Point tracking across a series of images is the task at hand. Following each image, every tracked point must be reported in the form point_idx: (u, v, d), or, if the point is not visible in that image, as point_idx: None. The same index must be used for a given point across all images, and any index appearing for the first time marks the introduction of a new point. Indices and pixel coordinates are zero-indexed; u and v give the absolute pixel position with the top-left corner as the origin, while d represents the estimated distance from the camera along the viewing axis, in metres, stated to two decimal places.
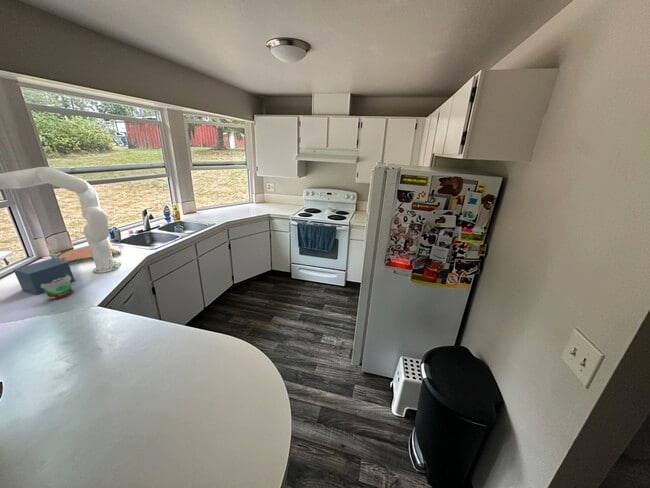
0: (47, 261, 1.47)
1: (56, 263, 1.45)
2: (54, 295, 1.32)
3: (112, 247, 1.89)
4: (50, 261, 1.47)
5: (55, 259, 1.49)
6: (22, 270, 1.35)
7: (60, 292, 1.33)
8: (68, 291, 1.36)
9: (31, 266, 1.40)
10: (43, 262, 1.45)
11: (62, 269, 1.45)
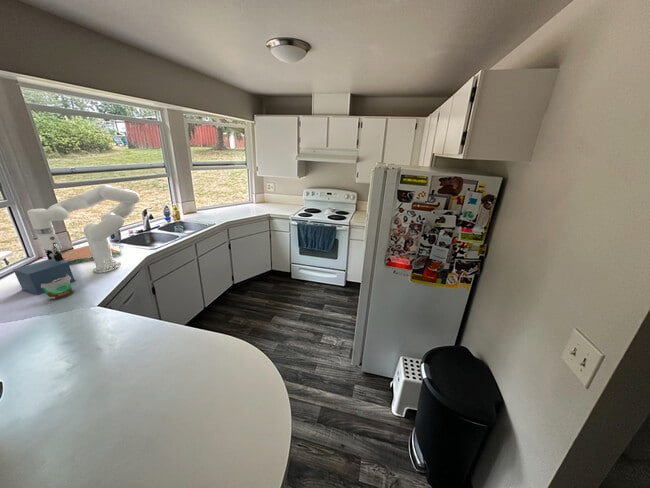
0: (47, 261, 1.47)
1: (56, 263, 1.45)
2: (54, 295, 1.32)
3: (112, 247, 1.89)
4: (50, 261, 1.47)
5: None
6: (22, 270, 1.35)
7: (60, 292, 1.33)
8: (68, 291, 1.36)
9: (31, 266, 1.40)
10: (43, 262, 1.45)
11: (62, 269, 1.45)
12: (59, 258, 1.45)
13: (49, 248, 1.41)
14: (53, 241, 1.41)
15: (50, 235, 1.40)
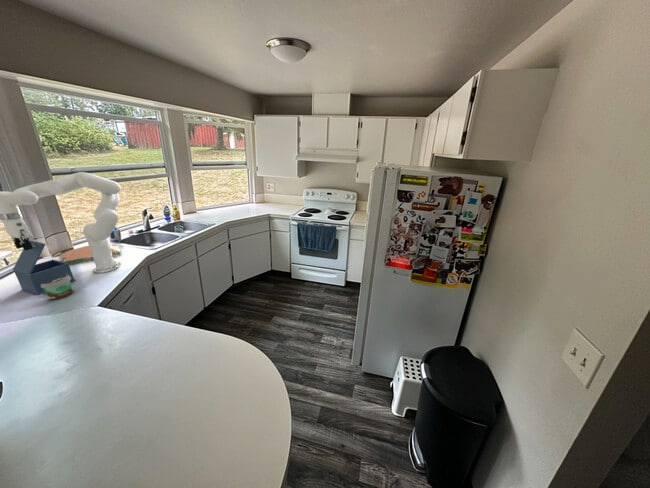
0: None
1: (36, 249, 1.36)
2: (54, 295, 1.32)
3: (112, 247, 1.89)
4: None
5: (31, 243, 1.39)
6: (19, 269, 1.34)
7: (60, 292, 1.33)
8: (68, 291, 1.36)
9: (21, 261, 1.36)
10: (25, 251, 1.38)
11: (62, 269, 1.45)
12: (28, 247, 1.32)
13: (16, 235, 1.29)
14: (20, 228, 1.28)
15: (16, 221, 1.27)
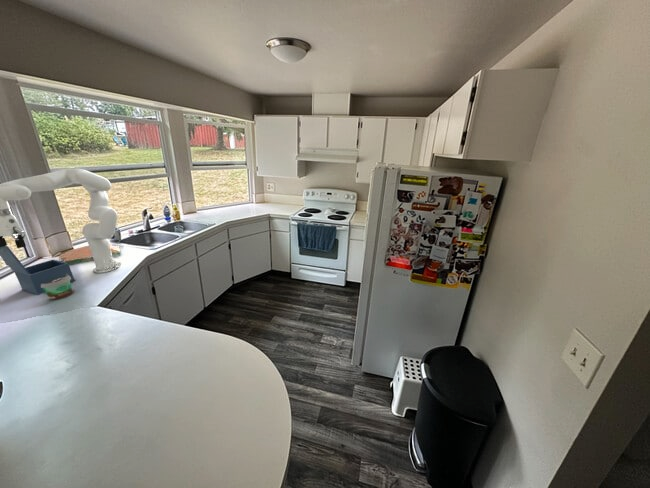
0: None
1: (6, 252, 1.26)
2: (54, 295, 1.32)
3: (112, 247, 1.89)
4: None
5: None
6: (17, 270, 1.34)
7: (60, 292, 1.33)
8: (68, 291, 1.36)
9: (9, 263, 1.32)
10: (1, 254, 1.29)
11: (62, 269, 1.45)
12: (22, 244, 1.22)
13: (7, 233, 1.19)
14: (13, 225, 1.19)
15: (9, 217, 1.18)
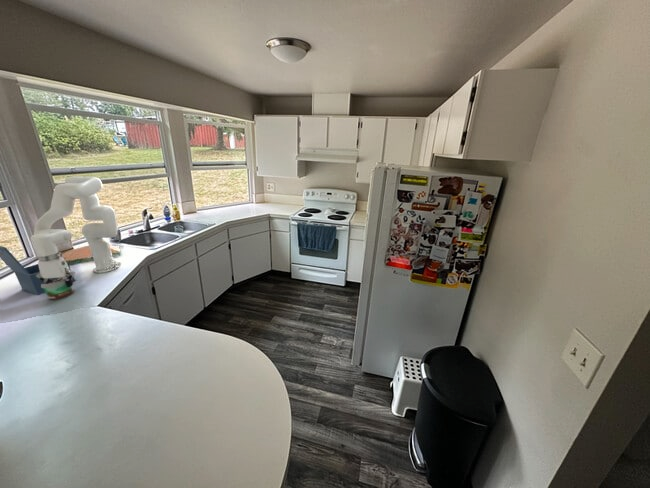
0: None
1: (4, 253, 1.26)
2: (54, 295, 1.32)
3: (112, 247, 1.89)
4: None
5: None
6: (17, 270, 1.34)
7: (60, 292, 1.33)
8: (68, 291, 1.36)
9: (8, 263, 1.32)
10: None
11: None
12: (71, 283, 1.35)
13: (60, 275, 1.30)
14: (64, 266, 1.31)
15: (61, 260, 1.30)
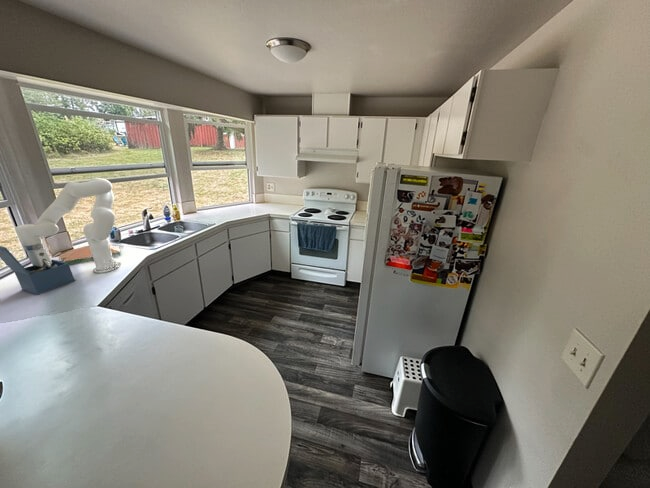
0: None
1: (4, 253, 1.26)
2: None
3: (112, 247, 1.89)
4: None
5: None
6: (17, 270, 1.34)
7: None
8: None
9: (8, 263, 1.32)
10: None
11: (62, 269, 1.45)
12: None
13: (38, 264, 1.38)
14: (43, 257, 1.38)
15: (39, 251, 1.37)
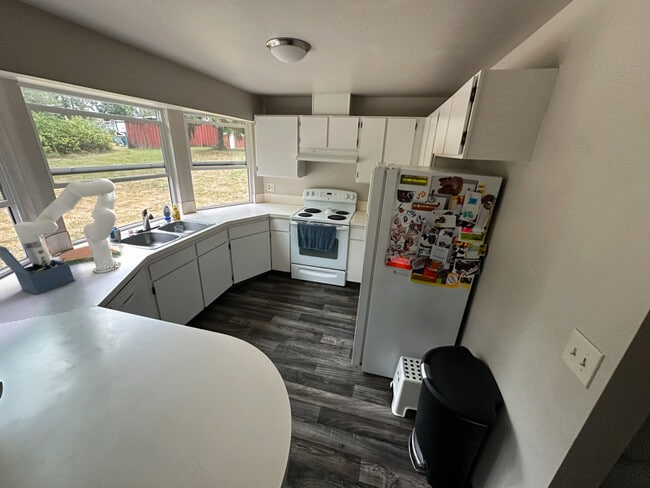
0: None
1: (4, 253, 1.26)
2: None
3: (112, 247, 1.89)
4: None
5: None
6: (17, 270, 1.34)
7: None
8: None
9: (8, 263, 1.32)
10: None
11: (62, 269, 1.45)
12: None
13: (37, 262, 1.38)
14: (41, 255, 1.37)
15: (38, 249, 1.36)
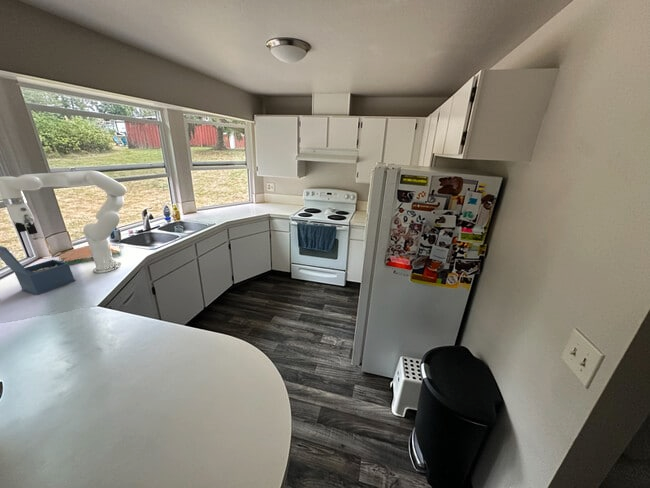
0: None
1: (4, 253, 1.26)
2: None
3: (112, 247, 1.89)
4: None
5: None
6: (17, 270, 1.34)
7: None
8: None
9: (8, 263, 1.32)
10: None
11: (62, 269, 1.45)
12: (33, 231, 1.32)
13: (20, 220, 1.29)
14: (24, 213, 1.29)
15: (21, 206, 1.28)
